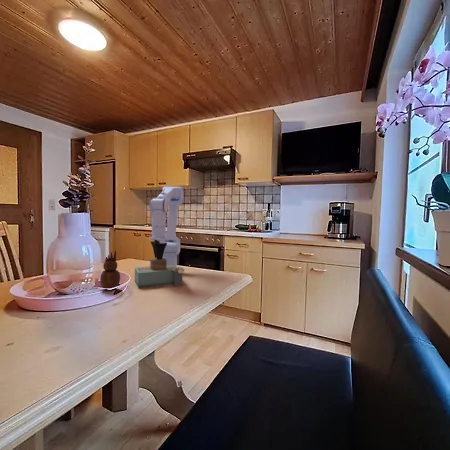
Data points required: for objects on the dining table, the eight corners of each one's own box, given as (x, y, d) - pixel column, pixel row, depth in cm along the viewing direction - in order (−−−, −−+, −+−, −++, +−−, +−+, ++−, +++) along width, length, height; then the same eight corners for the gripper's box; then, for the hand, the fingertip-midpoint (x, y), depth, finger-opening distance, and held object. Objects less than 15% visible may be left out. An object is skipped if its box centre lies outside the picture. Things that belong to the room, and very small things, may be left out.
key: (175, 270, 107) (175, 266, 107) (180, 269, 108) (180, 266, 108) (179, 273, 102) (179, 269, 102) (184, 272, 103) (184, 269, 103)
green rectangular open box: (134, 281, 112) (134, 267, 112) (175, 277, 120) (175, 264, 120) (139, 290, 100) (139, 274, 99) (184, 285, 108) (184, 270, 107)
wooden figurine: (122, 287, 102) (122, 250, 102) (114, 292, 97) (114, 252, 96) (106, 286, 103) (106, 249, 102) (97, 291, 97) (97, 251, 97)
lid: (138, 270, 111) (138, 258, 111) (173, 267, 118) (173, 256, 118) (141, 274, 104) (141, 262, 104) (178, 271, 111) (178, 259, 111)
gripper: (146, 225, 115) (146, 256, 116) (152, 227, 102) (152, 261, 103) (162, 225, 118) (161, 255, 119) (170, 227, 105) (169, 260, 106)
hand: (158, 258), depth 111 cm, fingers open, 4 cm apart
